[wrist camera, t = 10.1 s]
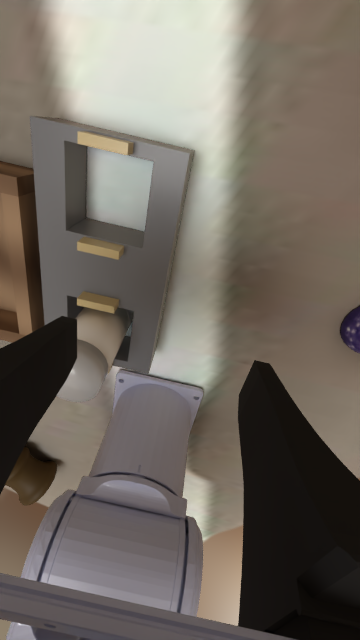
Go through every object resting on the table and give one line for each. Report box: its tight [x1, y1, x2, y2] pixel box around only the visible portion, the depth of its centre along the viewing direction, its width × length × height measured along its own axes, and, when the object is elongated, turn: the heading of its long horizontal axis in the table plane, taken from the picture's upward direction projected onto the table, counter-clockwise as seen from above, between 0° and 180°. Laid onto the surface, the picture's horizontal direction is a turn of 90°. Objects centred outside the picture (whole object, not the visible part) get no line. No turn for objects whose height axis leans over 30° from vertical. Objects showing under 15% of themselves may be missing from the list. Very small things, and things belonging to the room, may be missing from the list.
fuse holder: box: [30, 116, 194, 374], centre depth 19 cm, size 15×8×4 cm, turn 169°
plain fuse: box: [56, 307, 134, 402], centre depth 20 cm, size 4×4×8 cm
